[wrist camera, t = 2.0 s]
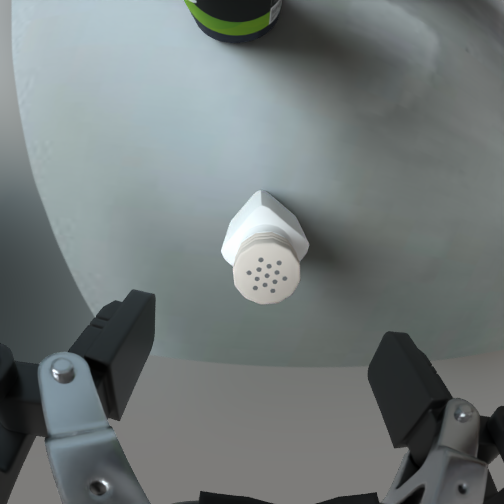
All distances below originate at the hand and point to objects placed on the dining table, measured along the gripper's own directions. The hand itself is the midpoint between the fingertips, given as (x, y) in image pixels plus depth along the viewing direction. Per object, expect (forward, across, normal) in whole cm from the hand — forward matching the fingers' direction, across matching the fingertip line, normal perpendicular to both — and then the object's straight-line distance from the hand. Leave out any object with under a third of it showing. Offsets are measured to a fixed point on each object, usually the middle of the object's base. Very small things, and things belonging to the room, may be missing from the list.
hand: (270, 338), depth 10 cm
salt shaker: (+14, 0, 0) cm, 14 cm away
